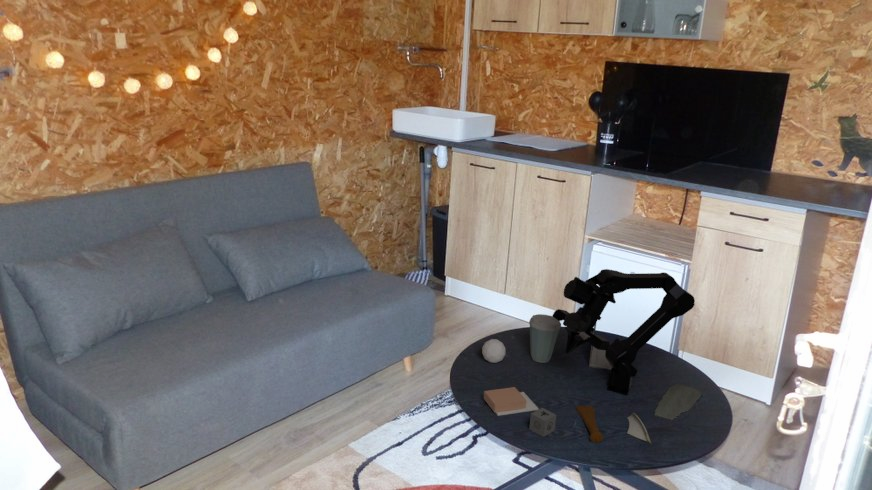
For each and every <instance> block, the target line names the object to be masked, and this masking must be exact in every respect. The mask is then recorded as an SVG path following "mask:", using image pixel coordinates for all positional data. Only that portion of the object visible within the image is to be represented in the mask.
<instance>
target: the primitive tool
mask: <svg viewBox="0 0 872 490" xmlns="http://www.w3.org/2000/svg"><path fill="white" fill-rule="evenodd" d="M574 407H575V410H576V412H577V413H578V414H579V416H580V417H581V420H582V421H583V422H584V425H585V426H586V428H587V430H588V432H589V434H590V436H589V440H590V442H591V443H595V444H600V443H602V442H603V441H604V435H603V434H602V432H600V430H599V427H598V425H597V424H598V423H597V421H596V416H595V412H596V409H595V408H594V407H593V406H591V405H575V406H574Z"/></svg>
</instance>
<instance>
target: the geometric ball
mask: <svg viewBox="0 0 872 490" xmlns="http://www.w3.org/2000/svg"><path fill="white" fill-rule="evenodd" d="M481 349H482V350H481V352H482V355H483V358H484V360H486V361H487V362H489V363H493V364H496V363H499V362H501V361H503V360H504V357H505V356H506V347H505V345H504V343H503V342H502V341H500V340H498V339H497V338H491V339H489V340H487V341H485V342H484V344H483V346H482V347H481Z"/></svg>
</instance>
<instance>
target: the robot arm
mask: <svg viewBox="0 0 872 490" xmlns="http://www.w3.org/2000/svg"><path fill="white" fill-rule="evenodd" d="M634 289H635V290H639V289H640V290H641V289H642V290H645V289H646V290H647V289H654V290H655V289H662V290H663V291H664V292H665V296H664V297H663V299H662V302H661V304H660V306H659V307H658V308H657V310H656V311H654V312H653V313H652V314H651V315H650V316H649V317H648V318H647V319H646V320H645V321H644V322H643V323H642V324H640V325H639V327H637V329H635V330H634V331H633V332H632V333H631V334H630V335H628V337H627V338H625V339H621V340H620V339H619V337H617V338H615V339H614V340H613V342H612V343H611V344H610V341H609V340H608V339H606V337H603V336H602V335H601V334H600V335H599V334H595V335H594V334H593V331H594V325H595V324H596V325H597V322H598V321H601V319H602V317H601V315H602V314H603V312H604V310H605V308H606V307H607V305H608V303H609V302H610V303H613V304H616V300H615V294H620V293H623V292H625V291H627V290H634ZM563 298H566V299H568V300H571V301H572V302H575V303H577V304H579V305H583V306H582V307H581V306H580V307H579V308H578V309H577V311H574V312H569V311H567V310H564V309H559V308H557V309H556V310H554V312H553V314H552V315H551V316H553V317H554V318H555V319H557V320H558V321H560V322H562V321H563V323H562V325H563V326H564V329H565V330H566V332H567V341H566V347H565V354H567V355H569V354H571V353H572V352H574V351H575V350H577V349H578V348H579V347H580V346H582V345H584V344H586V343H589V345H592V346H593V347H595V348H596V349H598V350H606V352H605V353H606V354H605V357H606V359H607V361H608V362H609V364H610V365H611V366H612V367H613V368H612V369H611V370H609V372H608V375H607V382H606V385H607V387H606V390H608V391H612V392H615V393H619V394H622V395H624V396H627V395H629V393H630V392H631V390H632V388H633V384H632V383H633V378H635V377H636V375H637V373H638V370H637V368H636V367H634V366H633V364H634V362H635V361H636V357H637V356H638V352H639V350H641V348H643V346H644V345H646V344H647V343H648V342H649V341H650V340H651V339H653V338H654V337H655V335H657V334H658V333H659V331H661V330H662V329H663V328H664V327H665V326H666V325H667V324H669V322H671V320H673V319H675V318H678V317H682V316H684V315H685V314H687V313H688V312H690V311H691V310H692V309H693V308H694V307H695V301H696V300H695V297H694V295H692V294H691V293H690V292H688V291H687V290H685V289H684V288H683V287H682V286H681V285H680V284H679V283H678V282H677V281H676V279H675V278H674V277H673V276H672V275H670V274H669V273H667V272H660V273H655V272H654V273H652V272H651V273H649V272H648V273H626V272H625V273H624V272H622V271H619V270H613V269H608V268H606V269H605V268H604V269H601V270H600V271H599V272H598V274H595V275H594V276H592V277H589V278H588V279H587V280H585V281H584V280H583V279H581V278H579V277H578V276H574V278H573V279H572V280H570V281H568V283H566V284H565V287H564V289H563Z"/></svg>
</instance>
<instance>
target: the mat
mask: <svg viewBox="0 0 872 490" xmlns="http://www.w3.org/2000/svg"><path fill="white" fill-rule="evenodd" d="M519 392H520V391H519ZM520 393H521V395H522V396H523V397H524V398H525V399H526V400H527V401H526V408H521V409H515V410H508V411H501V412H494V413H495V414H496V416H498V417H499V416H506V415H512V414H518V413H526V412H532V411H533V412H534V411H537V410H538V409H539V407H538V406H537V405H536V404H535V402H534V401H532V399H530V397H529V396H528V395H527V394H526V393H525V392H524V391H521V392H520Z"/></svg>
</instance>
